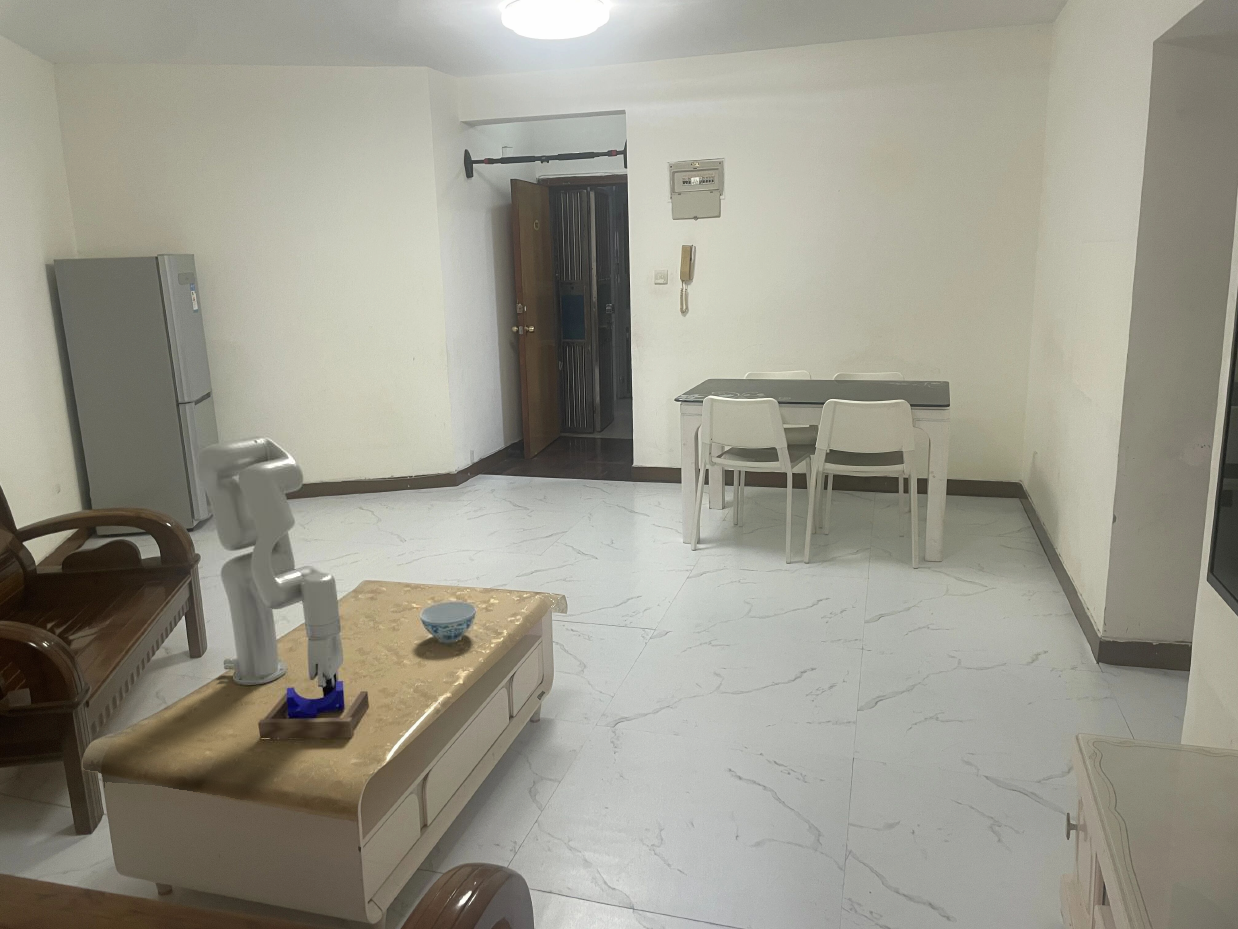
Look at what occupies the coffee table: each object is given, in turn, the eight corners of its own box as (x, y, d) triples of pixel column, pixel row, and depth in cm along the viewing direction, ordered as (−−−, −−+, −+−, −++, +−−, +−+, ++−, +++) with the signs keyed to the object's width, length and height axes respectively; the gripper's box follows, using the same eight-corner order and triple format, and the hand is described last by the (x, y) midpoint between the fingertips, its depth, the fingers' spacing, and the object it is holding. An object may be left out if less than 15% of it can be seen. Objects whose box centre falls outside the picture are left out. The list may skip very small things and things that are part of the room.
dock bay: (260, 739, 183) (258, 722, 182) (285, 708, 196) (283, 692, 196) (351, 738, 183) (349, 721, 182) (371, 707, 196) (369, 691, 195)
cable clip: (288, 722, 190) (286, 702, 187) (289, 707, 193) (286, 688, 190) (344, 714, 194) (343, 694, 191) (344, 699, 197) (342, 680, 194)
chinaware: (472, 649, 225) (470, 621, 223) (416, 650, 225) (413, 623, 224) (482, 626, 240) (480, 600, 238) (429, 627, 240) (427, 602, 238)
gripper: (319, 615, 201) (327, 686, 205) (294, 641, 187) (303, 717, 191) (350, 614, 201) (358, 685, 205) (327, 640, 187) (336, 716, 190)
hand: (332, 700), depth 198 cm, fingers closed
